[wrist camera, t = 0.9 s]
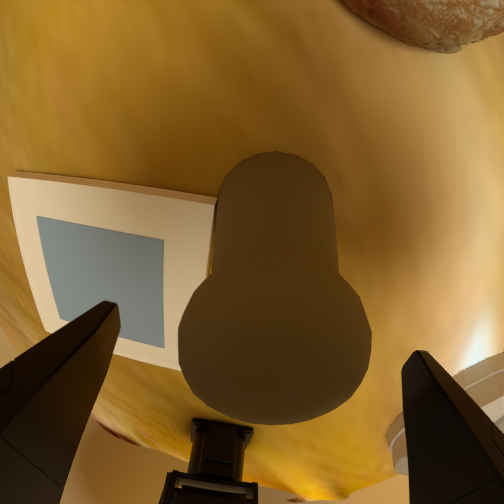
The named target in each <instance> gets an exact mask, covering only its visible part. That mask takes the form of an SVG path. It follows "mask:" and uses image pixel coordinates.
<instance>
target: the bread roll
mask: <svg viewBox="0 0 504 504" xmlns="http://www.w3.org/2000/svg"><path fill="white" fill-rule="evenodd" d="M343 1H344V2H345V3H346V4H347V5H348V7H349V8H350V9H351V10H352V11H353V12H356V13H357V14H359V15H360V16H361V17H362V18H364V19H366V20H367V21H369V22H370V23H371V24H372V25H375V26H377V27H379V28H381V29H383V30H385V31H386V32H388V33H389V34H390V35H392V36H394V37H395V38H397V39H399V40H401V41H403V42H405V43H407V44H409V45H411V46H416V47H422V48H426V49H429V50H432V51H435V52H440V53H449V54H452V53H456V52H458V51H459V50H461V47H460V45H461V44H466V45H468V44H469V43H474V42H477V41H481V40H483V39H486V38H488V37H490V36H495V35H498V34H500V33H502V32H504V0H343Z"/></svg>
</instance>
